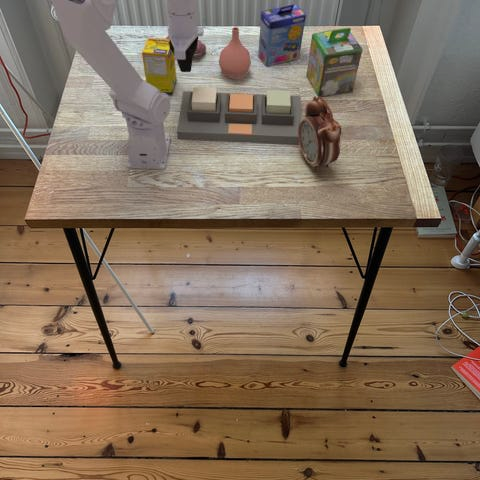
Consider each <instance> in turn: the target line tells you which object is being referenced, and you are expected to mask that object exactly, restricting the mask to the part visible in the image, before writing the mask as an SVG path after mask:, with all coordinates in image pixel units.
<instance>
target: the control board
mask: <svg viewBox="0 0 480 480" xmlns="http://www.w3.org/2000/svg"><path fill="white" fill-rule="evenodd" d="M230 94H240V93H239V92H238V93H237V92H217V102H216V111H196V110H192V96H193V91H188V90H187V91H186V90H183V91H182V97H181V103H180V104H181V105H180V110H179V116H178V122H177V127H176V128H177V129H176V138H177V140H189V141H190V140H193V141H195V140H196V141H216V142H219V141H220V142H222V141H223V142H238V143H240V142H241V143H243V142H245V143H266V144H267V143H268V144H289V145H290V144H294V145H295V144H296V145H300V144H299V139H298V127H299V122H300V119H301V117H302V116H303V114H302V101H301V100H302V99H301V96H300V95H290V104H291V107H290V114H269V113H266V97H267V94H259V93H249V94H250V95H253V111H252V113H244V112H229V105H230Z"/></svg>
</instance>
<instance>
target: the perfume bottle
mask: <svg viewBox="0 0 480 480" xmlns="http://www.w3.org/2000/svg"><path fill="white" fill-rule="evenodd" d="M231 33H232V34H231V40H230V41H229V43H228V44H227V45H226V46H224V48H222V49H221V51H220V53H219V58H218V63H219V64H218V65H219V67H220V71H221V73H222V75H224V76H225V77H227V78H230V79H240V78H243V77H245V76H247V75H248V72H249V69H250V66H251V65H252V62H251V61H252V60H251V55H250V51H249V50H248V48H247V47H245V46H244V45H243V44H242V42H241V40H240V34H239V33H240V28H239V27H237V26H235V27H231Z"/></svg>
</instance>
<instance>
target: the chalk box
mask: <svg viewBox="0 0 480 480" xmlns="http://www.w3.org/2000/svg"><path fill="white" fill-rule="evenodd" d="M351 31H352V28H351V27H345V28H344V27H343V28H337V29H332V30H324V31H319V32H314V33H312V34H311V40H310V47H309V55H308V62H307V70H306V76H307V79H308V81H309V83H310V84H311V86H312V87H313V89H314V91H315V93H316V94H317V97H324V96H331V95H337V94H339V95H340V94H343V93H344V94H345V93H352V92H354V85H355V82H356V78H357V74H358V70H359V66H360V62H361V57H362V54H363V49H364V48H363V47H362V46H361V45H360V43H359V42H358V41H357V39H356V37H355V36H354V35H353V34H352V32H351Z"/></svg>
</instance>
